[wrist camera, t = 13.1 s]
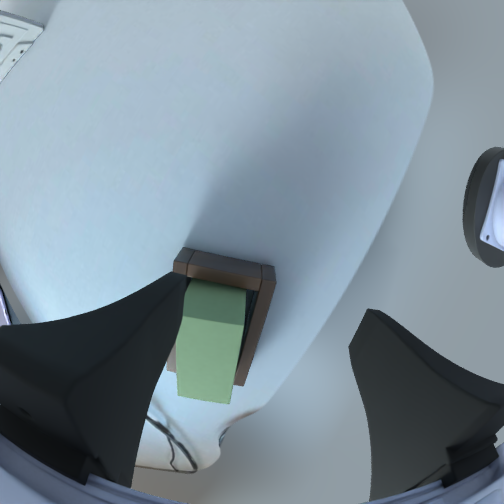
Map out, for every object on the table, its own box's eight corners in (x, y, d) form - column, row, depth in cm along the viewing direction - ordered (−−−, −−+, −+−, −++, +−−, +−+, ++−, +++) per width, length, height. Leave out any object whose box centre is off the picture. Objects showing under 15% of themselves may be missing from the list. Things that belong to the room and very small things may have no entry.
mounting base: (274, 266, 20) (276, 282, 18) (244, 367, 24) (243, 386, 22) (182, 246, 20) (173, 260, 18) (172, 352, 24) (166, 370, 22)
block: (247, 277, 21) (244, 325, 15) (234, 353, 24) (229, 404, 18) (195, 269, 21) (175, 314, 15) (191, 346, 24) (177, 395, 18)
